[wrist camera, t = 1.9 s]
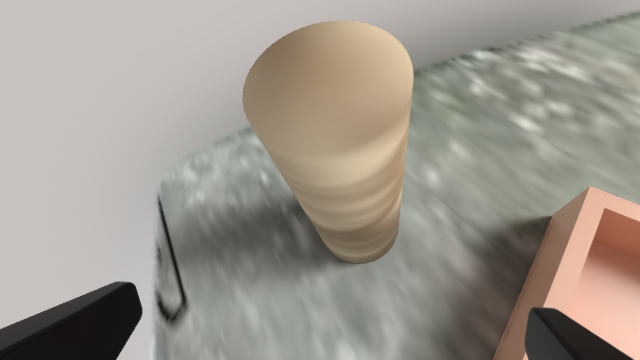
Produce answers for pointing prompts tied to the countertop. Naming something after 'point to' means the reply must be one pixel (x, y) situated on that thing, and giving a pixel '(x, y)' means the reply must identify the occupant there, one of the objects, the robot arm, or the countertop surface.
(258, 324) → the countertop surface
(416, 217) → the countertop surface
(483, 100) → the countertop surface
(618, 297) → the box
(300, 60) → the beech dowel
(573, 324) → the robot arm
